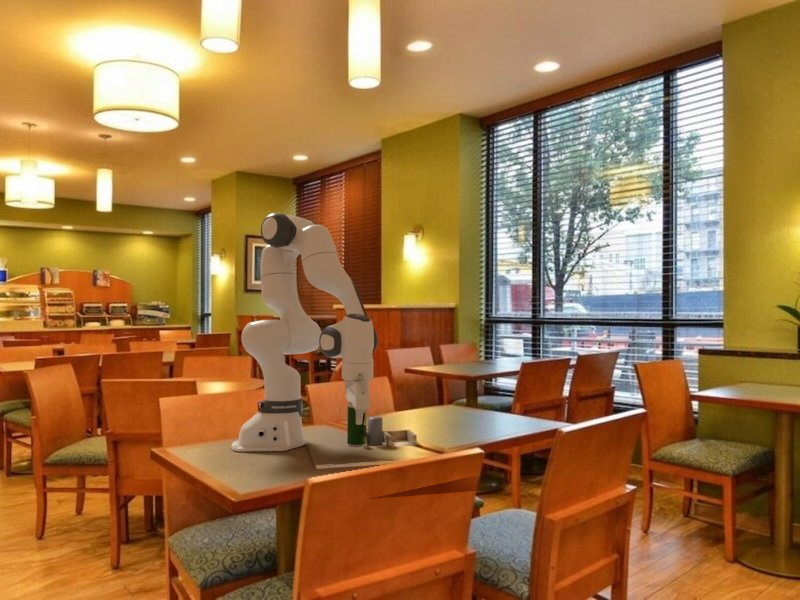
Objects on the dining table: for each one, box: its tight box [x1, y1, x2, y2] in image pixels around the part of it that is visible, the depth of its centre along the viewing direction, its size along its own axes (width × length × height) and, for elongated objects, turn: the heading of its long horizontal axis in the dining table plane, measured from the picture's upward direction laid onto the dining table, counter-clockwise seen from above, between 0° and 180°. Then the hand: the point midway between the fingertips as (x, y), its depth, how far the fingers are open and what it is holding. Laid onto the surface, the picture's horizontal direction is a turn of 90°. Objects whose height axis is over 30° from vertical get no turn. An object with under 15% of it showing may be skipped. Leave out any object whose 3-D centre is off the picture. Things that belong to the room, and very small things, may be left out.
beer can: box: [346, 401, 368, 448], centre depth 167 cm, size 5×5×12 cm
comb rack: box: [362, 429, 418, 449], centre depth 182 cm, size 16×9×4 cm, turn 103°
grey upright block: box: [366, 416, 384, 446], centre depth 181 cm, size 5×5×8 cm
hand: (356, 421), depth 167 cm, fingers closed on beer can, 5 cm apart
